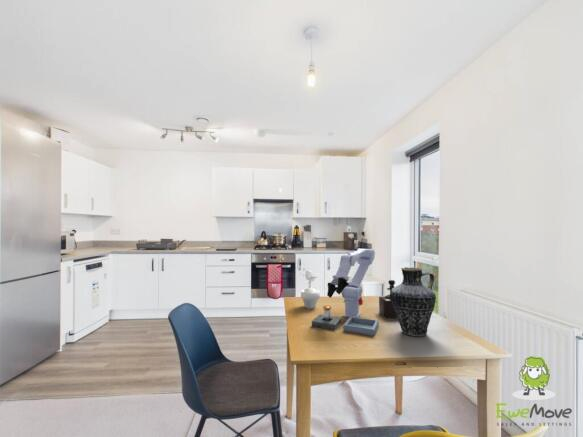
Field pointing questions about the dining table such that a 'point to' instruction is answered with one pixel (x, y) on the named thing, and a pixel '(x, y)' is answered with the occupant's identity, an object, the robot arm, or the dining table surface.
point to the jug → (413, 301)
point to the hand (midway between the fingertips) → (333, 294)
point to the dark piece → (387, 304)
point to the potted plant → (310, 292)
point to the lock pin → (327, 313)
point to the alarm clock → (360, 301)
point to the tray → (361, 326)
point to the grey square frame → (327, 322)
